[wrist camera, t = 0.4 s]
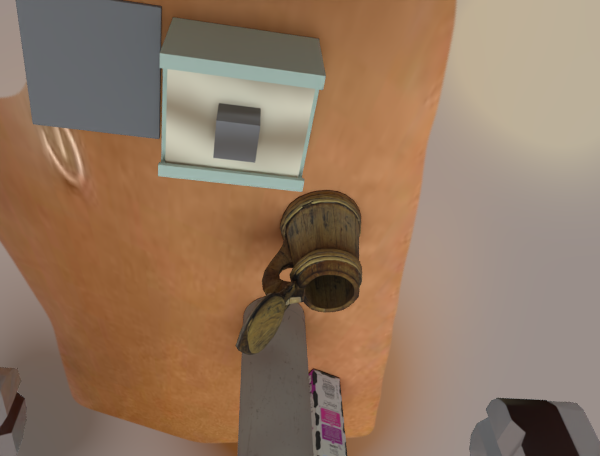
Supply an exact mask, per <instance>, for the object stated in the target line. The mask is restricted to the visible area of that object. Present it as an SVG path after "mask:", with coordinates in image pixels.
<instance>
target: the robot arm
mask: <svg viewBox="0 0 600 456" xmlns="http://www.w3.org/2000/svg"><path fill="white" fill-rule="evenodd" d="M20 383H21V378H20V375H19V371H18V368H6V367H5V368H4V367H0V456H16V455H17V453H18V450H19V447H20V444H21V441H22V439H23V434H24V429H25V424H26V410H27V407H26V402H25V398H24V397H23V396H22V395H20V394H19V393H18V392H17V390H18V388H19V385H20ZM486 411H487V414H488V418H486V419H484V420H482V421H480V422H479V423H477V424H476V426H475V428H474V430H473V432H472V434H471V439H470V448H469V450H470V456H600V441H599V439H598V437H597V435H596V433H595V431H594V429H593V427H592V425H591V423H590V422H589V420H588V418H587V416H586V414H585V412H584V410H583V409H582V408H581V407H580V406H579V405H578V404H577V403H573V402H555V401H553V402H552V401H547V400H534V399H512V398H511V399H510V398H496V399H494V400H492V401H491V402H490V403H489V405H488V406H487V408H486Z"/></svg>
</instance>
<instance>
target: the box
mask: <svg viewBox="0 0 600 456" xmlns="http://www.w3.org/2000/svg"><path fill="white" fill-rule="evenodd" d="M160 68H163V98H162V156H161V162H159V164H158V176H162V177H171V178H181V179H190V180H199V181H208V182H217V183H226V184H235V185H244V186H254V187H263V188H272V189H281V190H290V191H299V192H302V190H303V185H304V179H303V178H302V173H303V168H304V163H305V158H306V153H307V148H308V143H309V138H310V133H311V128H312V123H313V118H314V113H315V108H316V103H317V98H318V93H319V90H323V87H324V82H325V78H326V75H325V69H324V64H323V59H322V53H321V48H320V43H319V39H317V38H310V37H303V36H297V35H290V34H283V33H276V32H269V31H263V30H256V29H249V28H242V27H235V26H229V25H222V24H215V23H208V22H202V21H195V20H188V19H181V18H174V17H173V19H172V21H171V24H170V27H169V30H168V32H167V35H166V38H165V40H164V43H163V46H162V48H161V51H160ZM167 69H171V70H179V71H186V72H194V73H201V74H208V75H216V76H223V77H231V78H238V79H245V80H253V81H260V82H268V83H275V84H282V85H290V86H297V87H305V88H312V89H315V94H314V99H313V104H312V109H311V114H310V119H309V124H308V130H307V135H306V140H305V145H304V150H303V155H302V160H301V165H300V170H299V176H298V178H294V177H285V176H276V175H267V174H259V173H250V172H241V171H232V170H223V169H214V168H205V167H197V166H188V165H179V164H170V163H165V154H166V109H167Z"/></svg>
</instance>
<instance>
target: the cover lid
mask: <svg viewBox="0 0 600 456" xmlns="http://www.w3.org/2000/svg"><path fill="white" fill-rule="evenodd" d="M314 94H315V89H312V88H305V87H297V86H290V85H282V84H275V83H268V82H260V81H253V80H245V79H238V78H231V77H223V76H216V75H208V74H201V73H194V72H186V71H179V70H171V69H167V109H166V154H165V163H170V164H179V165H188V166H197V167H205V168H214V169H223V170H232V171H241V172H250V173H259V174H267V175H276V176H285V177H294V178H298V176H299V170H300V165H301V160H302V155H303V150H304V145H305V140H306V135H307V130H308V124H309V119H310V114H311V109H312V104H313V99H314Z"/></svg>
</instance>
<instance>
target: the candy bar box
mask: <svg viewBox="0 0 600 456" xmlns="http://www.w3.org/2000/svg"><path fill="white" fill-rule="evenodd" d="M309 389H310V404H311V418H312V438H313V452H314V456H347V449H346V438H345V431H344V418H343V409H342V397H341V388H340V379H339V378H337V377H335V376H332V375H329V374H326V373H324V372H321V371H318V370H315V369H313V370H312V371H311V372H310V373H309Z"/></svg>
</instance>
